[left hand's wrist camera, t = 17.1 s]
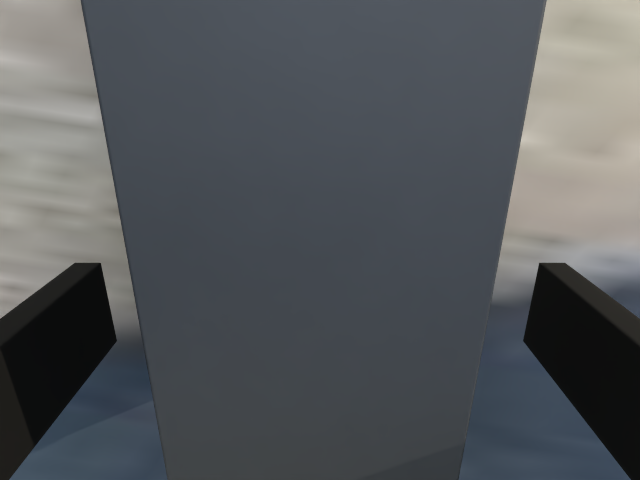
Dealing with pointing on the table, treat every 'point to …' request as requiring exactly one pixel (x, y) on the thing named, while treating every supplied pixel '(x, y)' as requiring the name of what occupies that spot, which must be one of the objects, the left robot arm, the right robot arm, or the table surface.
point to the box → (313, 221)
